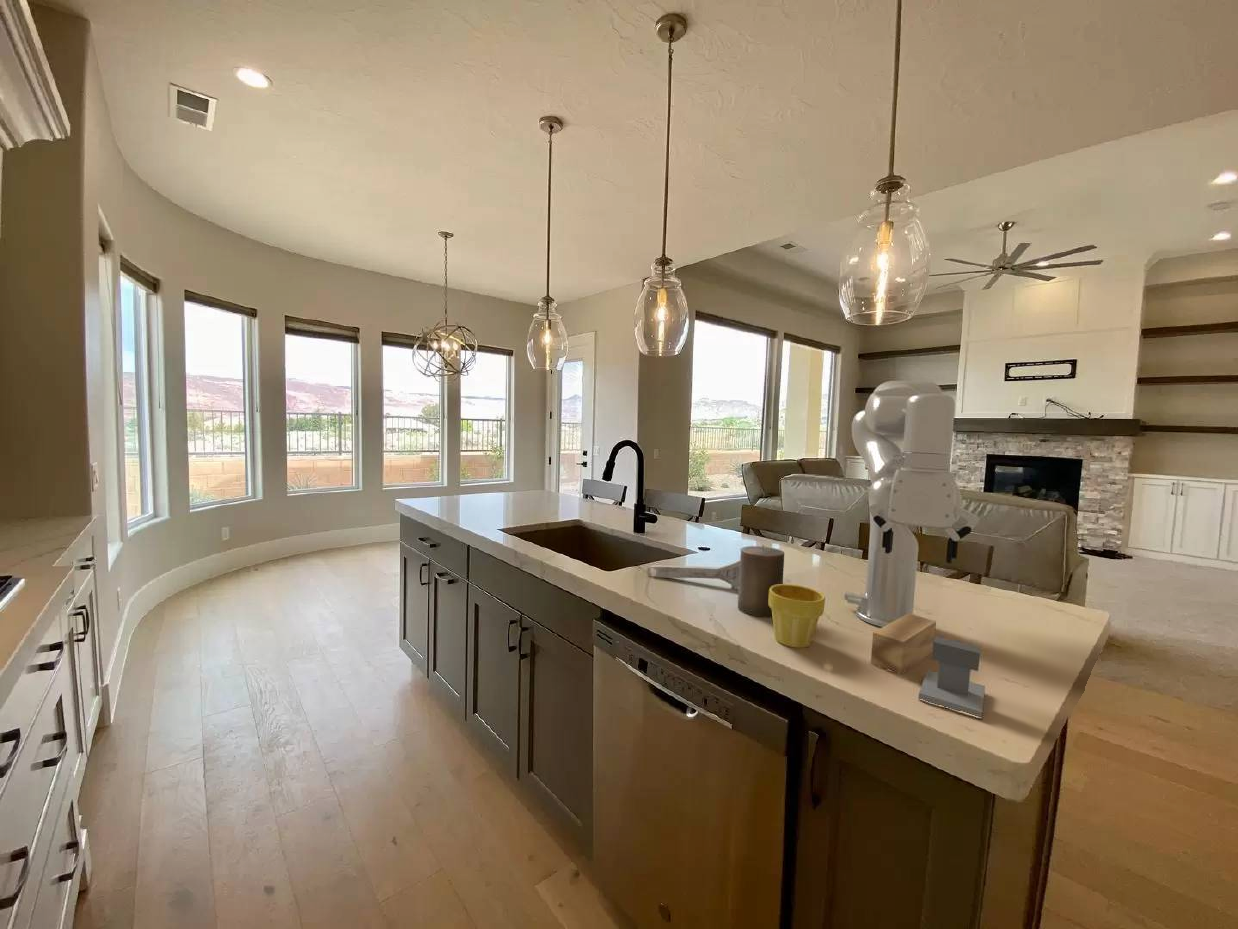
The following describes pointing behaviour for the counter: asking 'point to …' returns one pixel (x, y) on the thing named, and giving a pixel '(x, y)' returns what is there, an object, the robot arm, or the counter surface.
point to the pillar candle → (758, 578)
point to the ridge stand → (954, 677)
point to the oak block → (903, 643)
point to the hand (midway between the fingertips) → (917, 557)
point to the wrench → (700, 572)
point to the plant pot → (795, 613)
